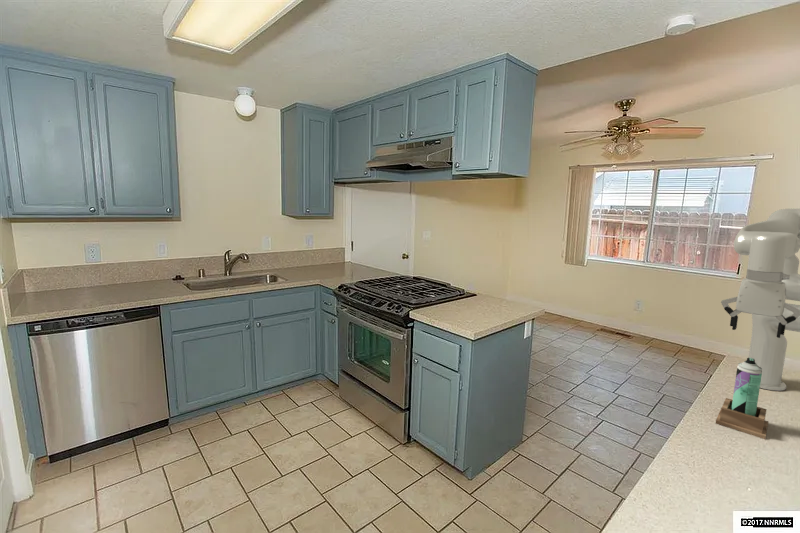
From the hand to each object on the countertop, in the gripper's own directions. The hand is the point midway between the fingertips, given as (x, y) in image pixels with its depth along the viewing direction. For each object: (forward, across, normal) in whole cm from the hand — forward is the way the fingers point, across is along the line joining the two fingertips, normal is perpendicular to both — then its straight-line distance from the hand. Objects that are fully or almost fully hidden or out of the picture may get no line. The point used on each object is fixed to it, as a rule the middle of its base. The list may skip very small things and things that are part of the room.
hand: (755, 332), depth 111 cm
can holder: (+29, 0, +3) cm, 29 cm away
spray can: (+28, 0, +2) cm, 28 cm away
